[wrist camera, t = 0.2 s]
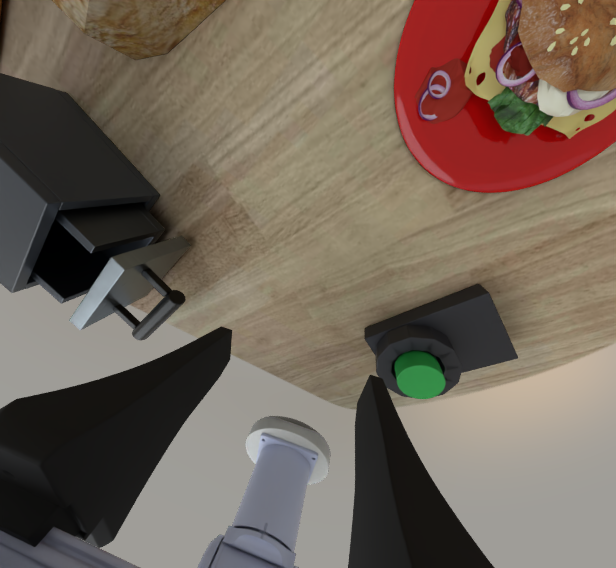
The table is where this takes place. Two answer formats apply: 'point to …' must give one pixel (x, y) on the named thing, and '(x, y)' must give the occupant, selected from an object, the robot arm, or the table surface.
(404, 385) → the button
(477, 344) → the block
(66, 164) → the cabinet
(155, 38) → the bread
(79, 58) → the table surface
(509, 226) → the table surface
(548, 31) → the hamburger
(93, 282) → the drawer
